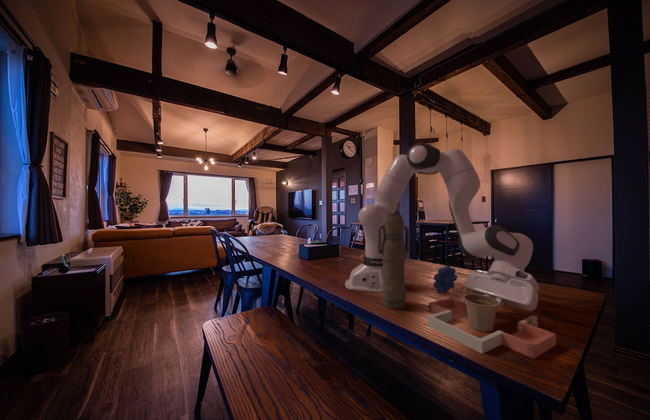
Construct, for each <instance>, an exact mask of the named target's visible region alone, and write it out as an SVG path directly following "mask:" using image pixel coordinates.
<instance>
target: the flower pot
mask: <svg viewBox="0 0 650 420" xmlns="http://www.w3.org/2000/svg"><path fill="white" fill-rule="evenodd" d="M462 298H463V300H464V302H465V303H466V306H467V312H468V315H467V318H468V325H469V326H470V327H472V328H473V329H474V330H477V331H480V332H483V333H484V332H485V333H486V332H492V331H493V330H494V326H495V325H494V323H495V321H496V319H495V318H496V314H497V310H498V309H499V308H498V306H499V305H500V303H499V301H497V300H496V299H494V298H491V297H488V296H484V295H478V294H472V293H468V294H464V295H463V297H462ZM497 308H498V309H497Z"/></svg>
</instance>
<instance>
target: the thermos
mask: <svg viewBox="0 0 650 420" xmlns="http://www.w3.org/2000/svg"><path fill="white" fill-rule="evenodd" d="M404 221H405V220H404V218H403V216H402V214H400V213H394V214H387V215H385V217H384V220H383V225H382V226H379V228H378V229H377V238H378V253H381V254H382V260H383V284H382V292H381V299H382V301H381V305H382V306H383V307H384V306H385V307H384V308H386V307H387V309H389V308H390V310H402V309H405V308H406V305H407V304H406V300H407V287H406V286H405V262H406V259H407V258H406V254H408V253H409V252H410V229H409V227H408V226H406V225H405V223H404ZM381 228H383V234H384V237H383V242H382V249H381ZM404 234H405V237H404ZM404 238H405V239H404Z"/></svg>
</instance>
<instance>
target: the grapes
mask: <svg viewBox="0 0 650 420" xmlns="http://www.w3.org/2000/svg"><path fill="white" fill-rule="evenodd" d="M456 272H457V271H456V268H454V267H451V266H450V265H447V264H446V265H445V266H444V267H439V268H438V270H437V273H436V274H434V276H433V280H434V282H433V284H432V285H433V288H434V289H436V292H437V293H439V294H442V293H444V294H447V293H449V292H450V289H454V288H455V286H456V283H455V282H457V279H458V276H457V274H456Z"/></svg>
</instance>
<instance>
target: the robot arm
mask: <svg viewBox="0 0 650 420" xmlns="http://www.w3.org/2000/svg"><path fill="white" fill-rule="evenodd" d="M416 173H417V174H420V175H429V176H430V175H435V174H440V176H441V177H442V180H443V182H444V185H445V187H446V190H447V193H448V206H449V210H450V214H451V218H452V221H453V223H454V227H455V229H456V234H457V236H458V237H457V238H458V245H459V250H460V251H461V253H462V254H463V255H464V256H465V257H466V258H468V259H470V260H474V261H475V260H476V261H477V260H480V259H484V258H486V257H490V256H491V257H492V258H493V262H492V263H491V265H490V268H489V270H488V271H487V270H481V269H475V270H472V271H471V272H470V274H469V275H468V276H467V278H465V281H464V282H463V284H462V285H463V288H464V290H465V291H466V292H467V293H468V294H478V295H484V296H488V297H491V298H494V299H496V300H497V301H499V303H500V305H499V306H498V308H497V310H498V309H500V308H502V307H503V305H504V304H506V305H509V306H512V307H515V308H518V309H521V310H525V311H527V312H528V311H529V312H532V311H535V310H536V309H537V306H538V302H539V293H538V292H539V289H540V286H539V284H538V282H537V280H536V279H535V278H534V276H533V275H532V274H530V273H527V272H525V268H526V267H527V266H528V265H529V263H530V261H531V258H532V255H533V252H534V244H533V242H532V240H531V238H530V237H528V236H527V235H525V234H524V233H520V232H510V231H508V230H506V229H505V228H503V227H501V226H499V225H490V226H487V227H485V228H481V229H478V230H475V228H474V224H473V222H472V218H471V215H470V213H469V208H470V204H471V203H472V201H473V199H474V198H475V196H476V195H477V194H478V192H479V190H480V187H481V181H480V180H481V179H480V177H479V174H478V172H477V171H476V169H475V167H474V165H473V164H472V162H471V160H470V159H469V158H468V156H467V155H466V154H465V153H464V152H463V151H462V150H461V149H458V148H451V149H449V150H446V151H444V152H441V150H440V149H439V148H436V146H433V145H432V144H430V143H426V142H418V143H415V144H413V145H412V146H410V148H409V149H408V151H407V153H406V154H398V155H397V156H395V157H394V159H393V160H392V161H391V163H390V164H389V166H388V168H387V169H386V171H385V173H384V175H383V178H382V179H381V181H380V183H379V186H378V187H377V194H376V199H375V201H374V203H369V204H367V205H365V206H363V207H362V208H360V210H359V212H358V216H357V217H358V222H359V223H360V224H361V226H362V229H363V234H364V241H365V242H364V243H365V245H364V246H365V255H363V254H361V255H360V256H359V258H360V261H361V263H360V264H358V265H357V266H356V267H355V268H354V269H352V270H351V272H350V275H349V278H348V279H346V280H345V282H344V283H345V284H344V286H345V288H346V289H347V290H350V291H351V290H352V291H363V292H371V293H372V292H373V293H382V284H383V260H382V254H381V253H378V238H377V229H378V228H379V226H382V225H383V220H384V217H385V215H387V214H396V210H397V207H398V204H399V202H400V199H401V197H402V195H403V193H404V191H405V190H406V188H407V186H408V184H409V182H410V180H411V178H412V177H413V176H414V174H416ZM383 237H384V234H383V228H381V249H382V242H383Z"/></svg>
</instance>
